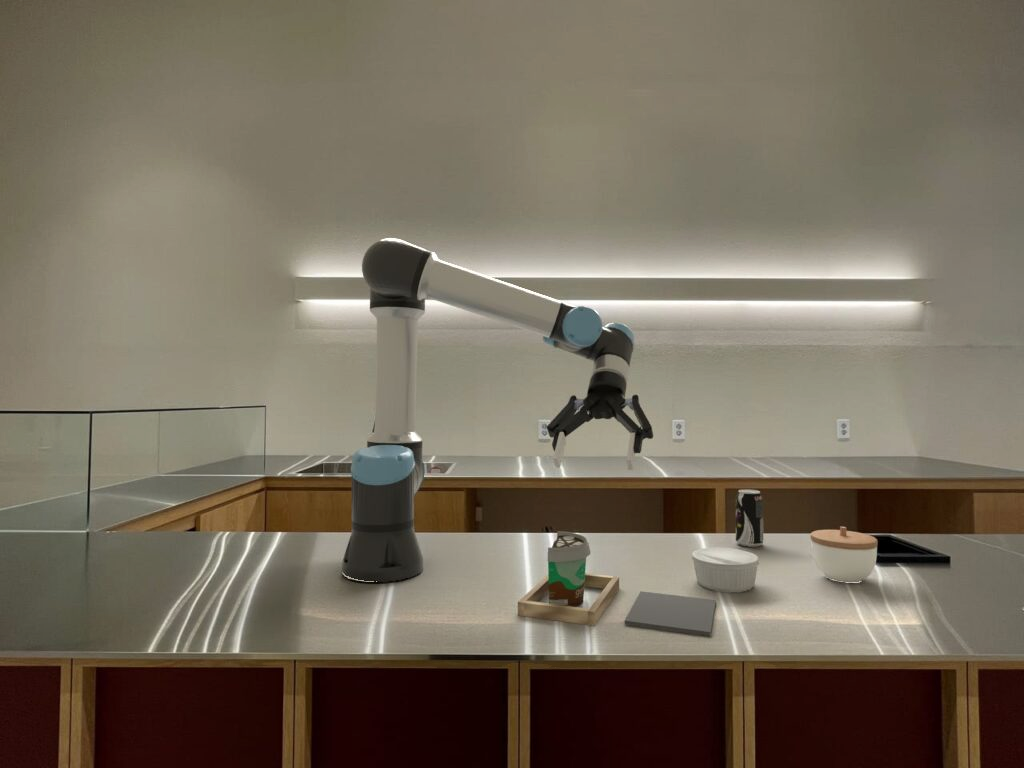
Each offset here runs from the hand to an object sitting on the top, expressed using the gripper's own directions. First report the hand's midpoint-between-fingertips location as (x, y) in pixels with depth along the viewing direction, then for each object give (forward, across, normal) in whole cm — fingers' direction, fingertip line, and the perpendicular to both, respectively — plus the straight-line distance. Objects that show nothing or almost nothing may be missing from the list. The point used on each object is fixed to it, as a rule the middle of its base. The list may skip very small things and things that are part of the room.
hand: (592, 464), depth 111 cm
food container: (+24, +1, -6) cm, 24 cm away
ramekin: (+11, -22, -19) cm, 31 cm away
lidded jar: (+4, -42, -27) cm, 50 cm away
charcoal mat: (+24, -15, -6) cm, 29 cm away
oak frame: (+24, +1, -6) cm, 24 cm away
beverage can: (-10, -26, -41) cm, 50 cm away
